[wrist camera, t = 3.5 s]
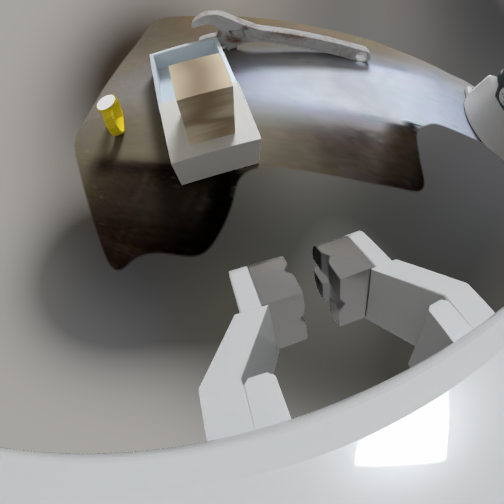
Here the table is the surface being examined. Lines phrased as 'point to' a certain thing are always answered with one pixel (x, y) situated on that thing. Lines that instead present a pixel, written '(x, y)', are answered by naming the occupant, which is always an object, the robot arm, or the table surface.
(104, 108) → the watch
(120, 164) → the table surface
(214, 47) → the tray
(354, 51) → the wrench
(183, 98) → the block
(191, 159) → the riser
